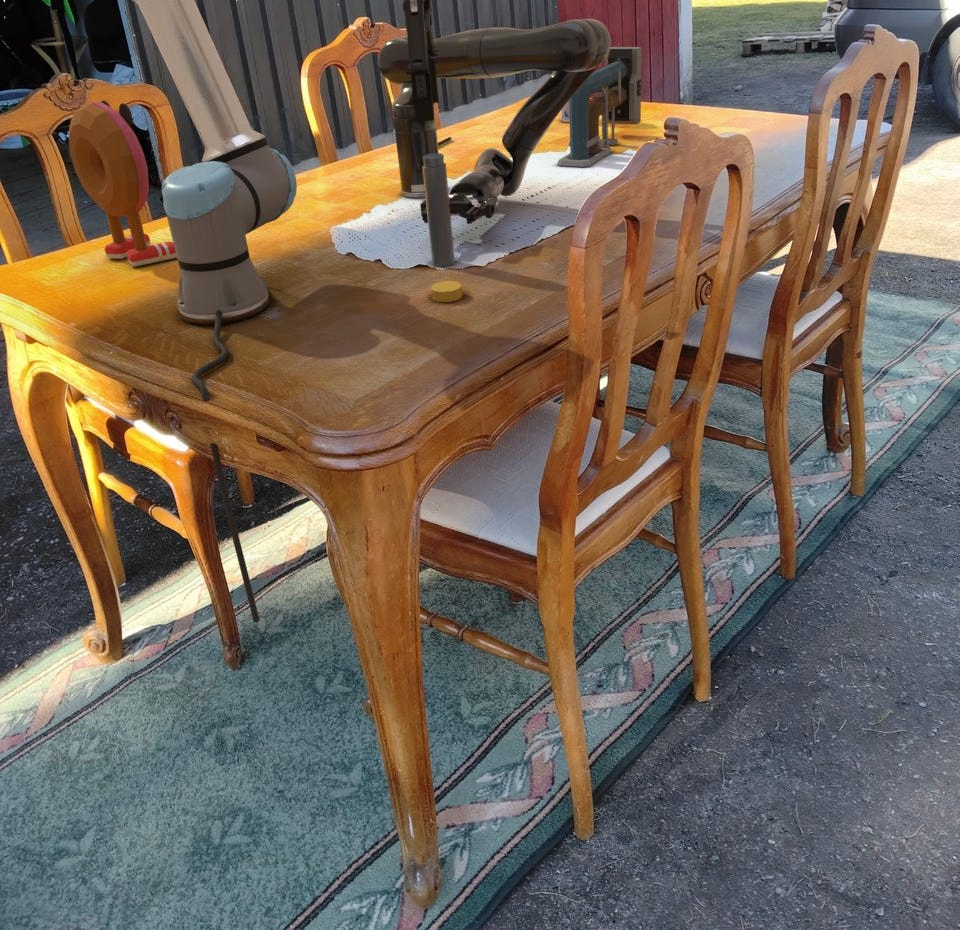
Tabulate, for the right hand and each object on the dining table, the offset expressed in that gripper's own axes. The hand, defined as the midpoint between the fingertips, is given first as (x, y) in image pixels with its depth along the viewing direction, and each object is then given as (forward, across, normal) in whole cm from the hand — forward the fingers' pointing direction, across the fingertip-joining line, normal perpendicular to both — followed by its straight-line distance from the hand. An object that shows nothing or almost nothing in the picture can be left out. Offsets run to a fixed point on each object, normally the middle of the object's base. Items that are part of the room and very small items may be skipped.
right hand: (446, 218), depth 179 cm
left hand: (+21, +7, -23) cm, 32 cm away
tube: (+5, 0, +7) cm, 8 cm away
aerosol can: (-117, -4, +7) cm, 117 cm away
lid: (+21, +7, +5) cm, 23 cm away
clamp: (-82, +11, +7) cm, 83 cm away
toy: (+8, -64, +7) cm, 64 cm away
